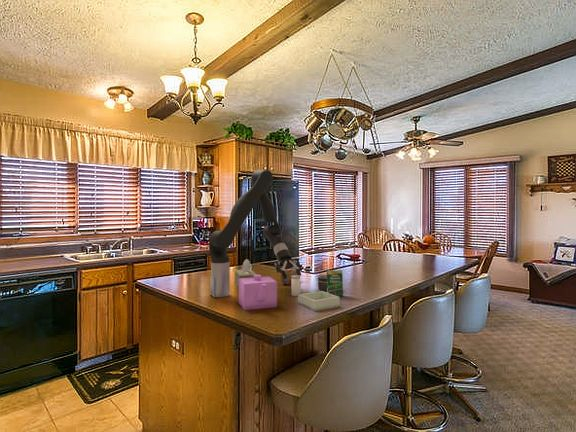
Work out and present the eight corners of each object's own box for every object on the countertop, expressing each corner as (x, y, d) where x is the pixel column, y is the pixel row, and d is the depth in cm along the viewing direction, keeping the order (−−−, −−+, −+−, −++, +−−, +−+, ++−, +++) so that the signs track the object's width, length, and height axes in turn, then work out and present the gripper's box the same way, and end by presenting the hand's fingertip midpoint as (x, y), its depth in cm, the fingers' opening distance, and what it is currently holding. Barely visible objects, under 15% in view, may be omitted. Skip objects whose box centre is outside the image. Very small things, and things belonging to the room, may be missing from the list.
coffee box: (327, 296, 176) (327, 271, 175) (326, 295, 178) (326, 270, 178) (343, 296, 176) (343, 271, 175) (342, 295, 178) (342, 270, 178)
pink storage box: (247, 315, 146) (247, 281, 146) (236, 300, 170) (236, 271, 169) (281, 311, 151) (281, 279, 151) (266, 297, 174) (266, 270, 174)
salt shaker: (294, 296, 176) (294, 276, 176) (289, 294, 180) (289, 275, 180) (301, 295, 179) (301, 276, 178) (297, 293, 183) (297, 274, 182)
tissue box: (257, 288, 195) (257, 260, 194) (239, 290, 192) (239, 261, 191) (250, 282, 212) (250, 256, 212) (234, 283, 210) (234, 257, 209)
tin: (284, 285, 202) (284, 271, 202) (279, 284, 204) (279, 270, 204) (298, 281, 214) (298, 267, 214) (294, 280, 216) (294, 267, 216)
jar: (335, 293, 184) (335, 278, 183) (316, 292, 186) (316, 278, 185) (336, 288, 193) (336, 275, 193) (318, 288, 195) (318, 274, 195)
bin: (314, 311, 151) (314, 301, 151) (298, 303, 162) (298, 294, 162) (339, 306, 157) (339, 297, 157) (322, 300, 169) (322, 290, 169)
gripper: (272, 249, 186) (283, 274, 176) (295, 247, 193) (307, 271, 183) (268, 258, 191) (278, 282, 181) (290, 256, 198) (301, 279, 188)
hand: (292, 277), depth 182 cm, fingers open, 8 cm apart
